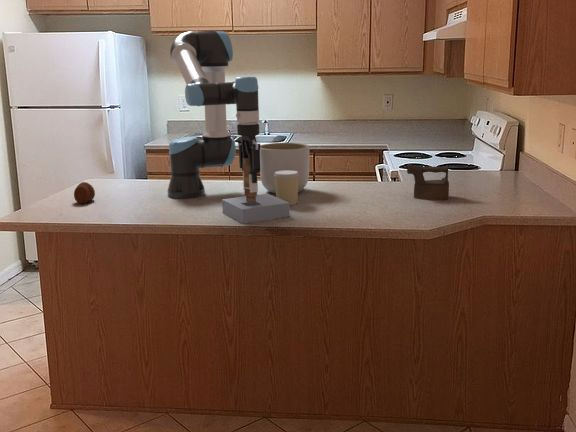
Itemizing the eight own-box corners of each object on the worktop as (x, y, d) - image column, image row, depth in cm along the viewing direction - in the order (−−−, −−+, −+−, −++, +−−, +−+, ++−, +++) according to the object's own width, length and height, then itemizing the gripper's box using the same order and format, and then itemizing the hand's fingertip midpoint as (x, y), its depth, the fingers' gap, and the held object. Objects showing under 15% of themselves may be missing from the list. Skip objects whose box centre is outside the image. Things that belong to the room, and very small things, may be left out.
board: (222, 212, 231) (222, 199, 230) (267, 206, 239) (266, 193, 238) (242, 223, 216) (242, 209, 215) (289, 216, 224) (289, 202, 223)
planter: (282, 199, 250) (281, 151, 246) (249, 191, 266) (248, 146, 261) (320, 191, 264) (319, 145, 259) (287, 184, 279) (286, 141, 274)
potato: (70, 205, 248) (68, 185, 246) (79, 199, 259) (77, 179, 257) (90, 205, 248) (88, 185, 246) (98, 198, 259) (96, 179, 257)
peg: (242, 200, 223) (240, 158, 219) (254, 198, 225) (252, 156, 221) (247, 203, 219) (246, 159, 215) (259, 201, 221) (258, 158, 217)
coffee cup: (298, 199, 249) (298, 169, 246) (299, 205, 240) (299, 174, 237) (274, 200, 249) (273, 170, 246) (275, 206, 240) (274, 174, 237)
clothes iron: (405, 195, 252) (406, 162, 249) (446, 195, 251) (447, 161, 248) (407, 200, 245) (408, 165, 241) (449, 199, 244) (451, 165, 240)
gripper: (227, 122, 221) (230, 187, 227) (248, 126, 206) (251, 196, 212) (247, 120, 225) (250, 185, 230) (269, 124, 210) (271, 193, 215)
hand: (250, 190), depth 221 cm, fingers closed on peg, 4 cm apart
